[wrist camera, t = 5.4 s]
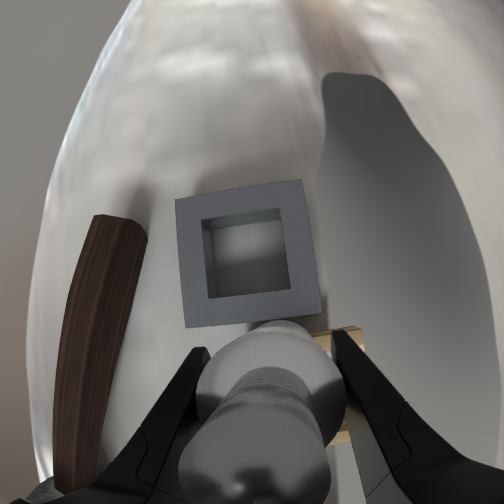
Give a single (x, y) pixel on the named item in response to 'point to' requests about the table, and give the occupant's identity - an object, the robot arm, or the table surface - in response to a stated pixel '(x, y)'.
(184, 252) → the socket
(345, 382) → the robot arm
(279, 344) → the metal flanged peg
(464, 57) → the table surface
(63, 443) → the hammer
